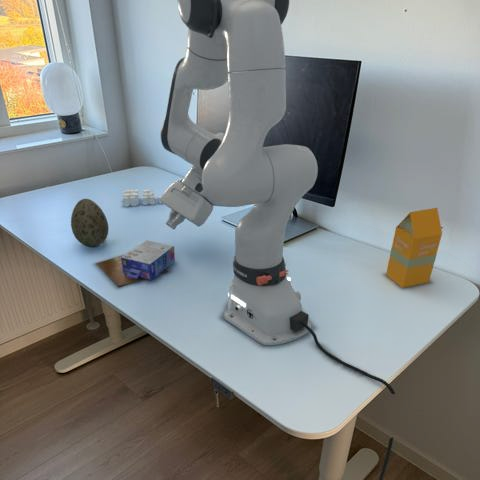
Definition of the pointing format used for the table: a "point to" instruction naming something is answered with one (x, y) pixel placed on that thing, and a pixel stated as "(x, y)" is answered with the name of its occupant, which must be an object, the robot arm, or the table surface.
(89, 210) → the decorative egg
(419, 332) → the table surface
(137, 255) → the ink cartridge box
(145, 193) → the modular blocks
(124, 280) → the placemat
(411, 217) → the orange juice
